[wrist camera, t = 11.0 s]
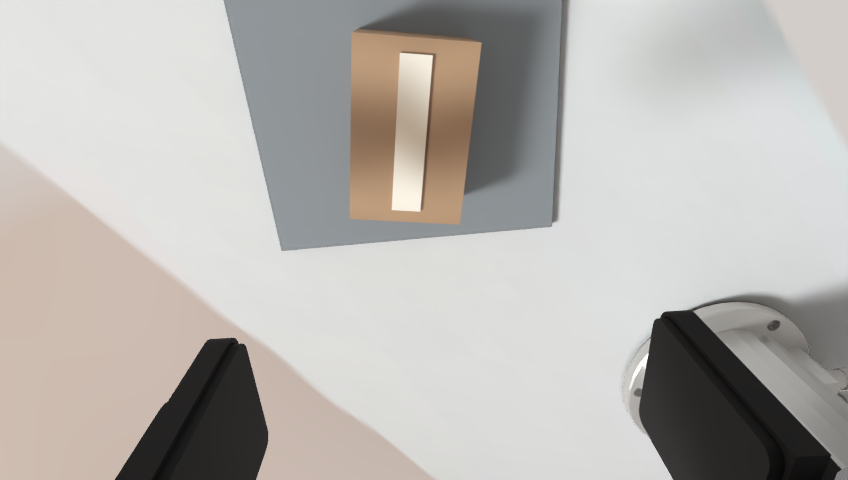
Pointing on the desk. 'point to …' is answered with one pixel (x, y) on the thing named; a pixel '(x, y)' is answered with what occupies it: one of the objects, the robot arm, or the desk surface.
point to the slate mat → (331, 110)
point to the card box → (410, 124)
